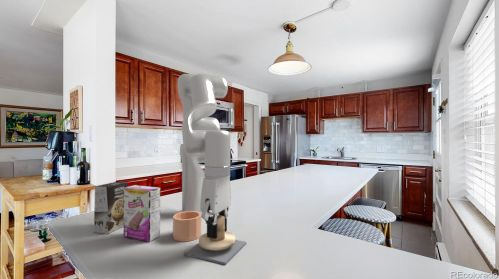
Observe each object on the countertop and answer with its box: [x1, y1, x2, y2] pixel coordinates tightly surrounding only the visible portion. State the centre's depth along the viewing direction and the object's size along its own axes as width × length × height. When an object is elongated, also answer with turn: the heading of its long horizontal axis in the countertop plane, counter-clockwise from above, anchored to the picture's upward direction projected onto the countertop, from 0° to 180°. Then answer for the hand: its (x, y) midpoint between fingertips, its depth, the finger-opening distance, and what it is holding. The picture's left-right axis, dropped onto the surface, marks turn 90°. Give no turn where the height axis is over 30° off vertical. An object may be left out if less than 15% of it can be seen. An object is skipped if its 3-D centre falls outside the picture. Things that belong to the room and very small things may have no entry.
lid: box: [198, 214, 236, 250], centre depth 66 cm, size 11×11×7 cm
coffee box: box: [93, 181, 129, 235], centre depth 82 cm, size 9×6×16 cm
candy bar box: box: [123, 184, 161, 243], centre depth 74 cm, size 11×5×16 cm, turn 71°
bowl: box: [172, 211, 203, 243], centre depth 76 cm, size 9×9×7 cm
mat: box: [184, 239, 247, 266], centre depth 66 cm, size 13×13×1 cm
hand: (217, 233), depth 66 cm, fingers open, 4 cm apart
